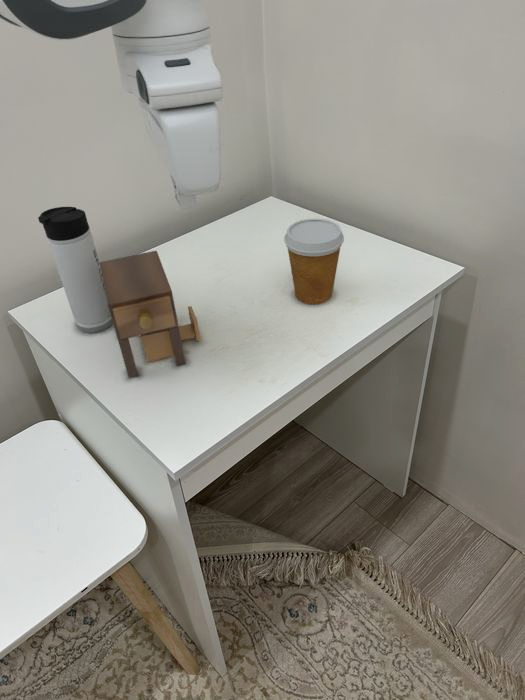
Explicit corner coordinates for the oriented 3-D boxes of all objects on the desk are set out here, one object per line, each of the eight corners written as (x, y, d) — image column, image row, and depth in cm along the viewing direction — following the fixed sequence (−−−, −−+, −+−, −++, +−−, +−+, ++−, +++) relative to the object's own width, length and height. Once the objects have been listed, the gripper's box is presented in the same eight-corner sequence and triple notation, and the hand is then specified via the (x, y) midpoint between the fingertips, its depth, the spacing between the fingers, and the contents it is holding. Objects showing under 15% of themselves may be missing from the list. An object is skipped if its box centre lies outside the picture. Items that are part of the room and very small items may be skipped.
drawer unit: (130, 386, 78) (109, 312, 70) (119, 332, 88) (99, 261, 80) (188, 371, 80) (174, 297, 71) (170, 320, 90) (156, 250, 82)
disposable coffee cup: (351, 288, 94) (354, 224, 87) (324, 316, 88) (325, 250, 81) (304, 274, 99) (303, 212, 91) (275, 300, 93) (272, 236, 85)
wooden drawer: (147, 362, 82) (141, 336, 78) (140, 335, 87) (134, 309, 84) (203, 349, 83) (199, 322, 80) (193, 323, 89) (188, 297, 86)
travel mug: (67, 325, 90) (28, 213, 78) (100, 307, 94) (67, 197, 81) (90, 339, 87) (52, 224, 74) (123, 319, 91) (92, 207, 78)
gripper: (118, 49, 58) (142, 175, 67) (151, 93, 43) (176, 249, 52) (176, 42, 60) (192, 167, 68) (228, 83, 45) (239, 237, 53)
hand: (185, 203), depth 60 cm, fingers closed
